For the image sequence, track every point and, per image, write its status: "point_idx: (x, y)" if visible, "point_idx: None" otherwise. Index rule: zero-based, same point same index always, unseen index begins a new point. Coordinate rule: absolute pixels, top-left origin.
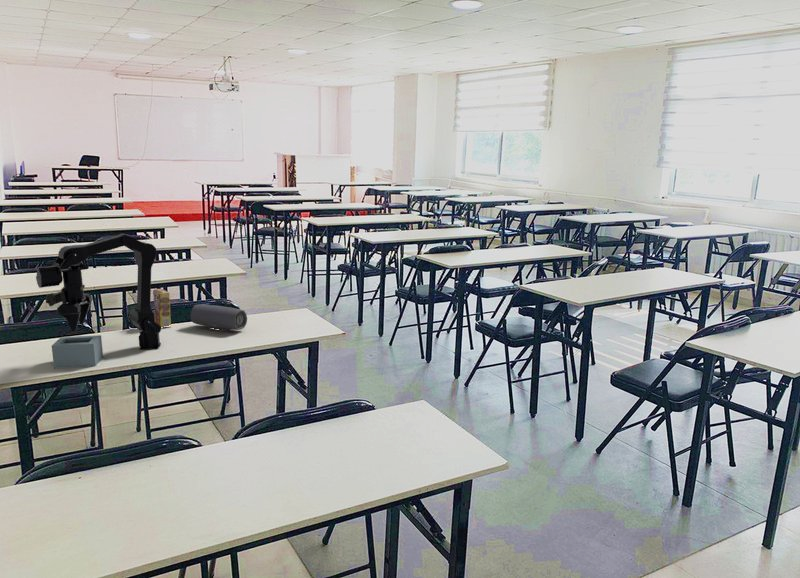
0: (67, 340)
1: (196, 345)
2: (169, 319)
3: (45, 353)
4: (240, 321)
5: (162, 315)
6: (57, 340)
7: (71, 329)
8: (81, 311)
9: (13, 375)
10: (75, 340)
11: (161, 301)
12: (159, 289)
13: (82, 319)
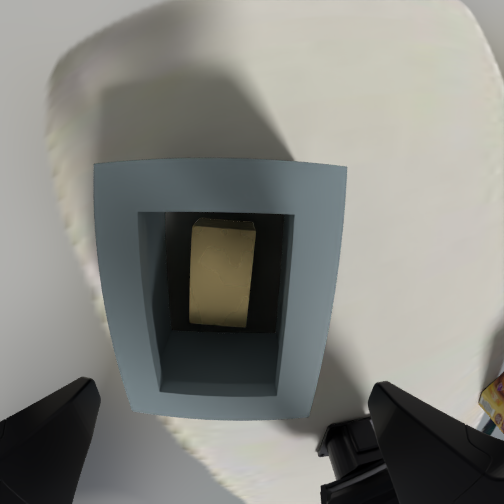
0: (289, 225)
1: (314, 490)
2: (488, 414)
3: (396, 82)
4: None
5: (498, 413)
6: (242, 159)
7: (67, 386)
8: (436, 495)
9: (104, 44)
10: (285, 283)
11: None
12: None
13: (385, 436)
